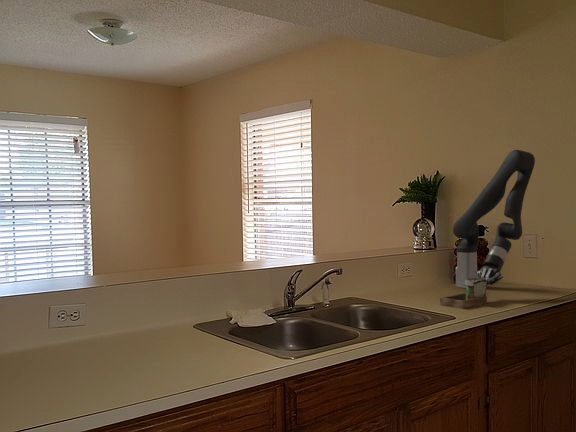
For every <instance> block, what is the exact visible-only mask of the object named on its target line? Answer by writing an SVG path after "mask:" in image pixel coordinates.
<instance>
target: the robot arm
mask: <svg viewBox="0 0 576 432" xmlns="http://www.w3.org/2000/svg"><path fill="white" fill-rule="evenodd" d="M535 163H536V158H535V155H534V154H532V153H531V152H528V151H525V150H520V149H513V150H512V151H510V152H509V153H508V154H507V156H506V157H505V158H504V159H503V162H502V163H501V165H500V167H499V168H498V170H496V172H495V174H494V175H493V176H492V178H491V179H490V181H489V182H488V183H487V184H486V185H485V187H484V188H483V189H482V191H481V192H480V193H479V194H478V195H477V197H476V198H475V200H474V201H473V202H472V203H471V205H470V206H469V208H468V209H467V210H466V211H465V212H464V213H462V215H461V216H460V217H459V218H458V219H457V220H456V221H455V223H454V224H453V228H452V233H453V234H454V236H455V237H457V238H458V239H461V241H460V244H458V245H457V246H456V263H457V264H456V265H457V266H456V267H455V287H457V288H460V289H461V288H462V289H467V288H466V285H465V280H466V279H467V278H475V277H481V278H486V279H487V283H486V288H487V287H488V286H489V285H490V286H493V285H494V284H495V283H497V282H498V281H500V280H502V279H503V278H504V277H503V275H502V274H501V270H502V269H503V267H504V264H505V262H506V260H507V258H508V254H509V252H510V250H511V248H512V242H511V241H510V240H514V241H517V240H520V238H521V237H522V235H523V225H522V209H523V205H524V199H525V194H526V191H527V188H528V185H529V182H530V179H531V176H532V174H533V171H534V168H535ZM516 172H517V176H516V177H517V178H516V181H515V183H514V185H513V186H512V188H511V190H510V191H509V192H508V195H507V196H506V200H505V205H504V210H503V215H504V217H505V218H508V219H511V220H512V223H511V222H505V221H504V222H501V223H499V224H498V225H497V227H496V234H495V240H494V242H493V244H492V247H491V248H490V250H489V251H488V253H487V255H486V257H485V259H484V261H483V264H482V267H481V268H480V269H479V270H478V246H479V241H480V240H479V238H480V237H479V235H480V233H479V231H480V229H479V225H478V223H477V222H478V221H479V220H480V219H482V218H483V217H485V216H486V215H487V214H488V213H490V212H491V211H492V210H494V209H495V208H497V206H498V204H500V202H501V201H503V198H504V196H505V193H506V190H507V189H506V188H507V183H508V182H509V179H510V178H511V177H512V175H514V174H515V173H516Z"/></svg>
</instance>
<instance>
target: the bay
mask: <svg viewBox="0 0 576 432" xmlns="http://www.w3.org/2000/svg"><path fill="white" fill-rule="evenodd" d="M466 296H467V292H466V293H464V292H463V293H458V294H453V295H447V296H444V297H443V296H442V297H440V298H439V305H440V306H443V307H449V308H454V309H461V310H465V309H470V308H475V307H478V305H479V306H483V305H486V304H488V303H487V302H488V301H487V300H488V297H487V295H486V296H483V297H478V298H473V299H468V298H467V297H466ZM482 304H483V305H482ZM469 307H470V308H469Z"/></svg>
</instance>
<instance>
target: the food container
mask: <svg viewBox="0 0 576 432" xmlns="http://www.w3.org/2000/svg"><path fill="white" fill-rule="evenodd" d="M486 283H487V279H486V278H481V276H480V277H475V278H467V279H466V280H465V285H466V288H465V289H466V296H467V297H466V299H467V300H468V299H473V298H478V297H483V296H487V287H486Z"/></svg>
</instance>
